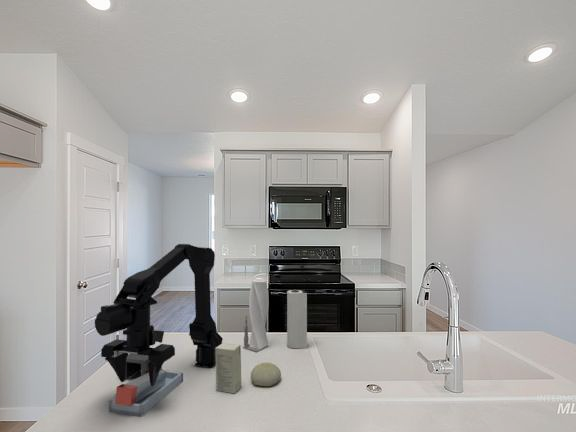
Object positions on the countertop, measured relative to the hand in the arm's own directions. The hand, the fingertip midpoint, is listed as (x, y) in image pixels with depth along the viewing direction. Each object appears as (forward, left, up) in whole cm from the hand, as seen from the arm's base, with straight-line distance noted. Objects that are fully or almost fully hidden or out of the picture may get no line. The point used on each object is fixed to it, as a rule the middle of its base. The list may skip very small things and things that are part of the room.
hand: (137, 383), depth 86 cm
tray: (0, -5, -5) cm, 7 cm away
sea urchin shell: (-29, -20, -6) cm, 36 cm away
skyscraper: (-18, -45, -6) cm, 49 cm away
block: (+10, -14, -5) cm, 18 cm away
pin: (0, -2, -4) cm, 4 cm away
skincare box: (-20, -13, -6) cm, 25 cm away
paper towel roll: (-32, -49, -6) cm, 59 cm away
